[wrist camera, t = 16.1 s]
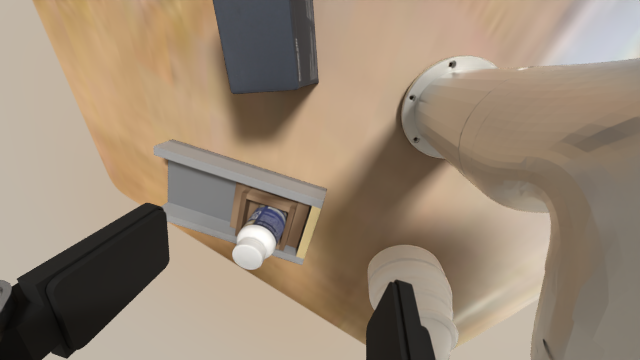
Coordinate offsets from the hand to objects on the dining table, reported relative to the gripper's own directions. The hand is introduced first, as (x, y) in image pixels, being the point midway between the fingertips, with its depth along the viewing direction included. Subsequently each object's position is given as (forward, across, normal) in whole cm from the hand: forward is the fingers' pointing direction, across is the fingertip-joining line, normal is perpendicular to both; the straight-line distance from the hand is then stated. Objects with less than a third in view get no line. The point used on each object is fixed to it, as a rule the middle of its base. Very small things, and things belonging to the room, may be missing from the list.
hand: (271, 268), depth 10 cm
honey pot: (+28, -18, +22) cm, 40 cm away
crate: (+26, +7, +16) cm, 31 cm away
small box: (+27, +9, -10) cm, 31 cm away
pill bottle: (+24, +7, +16) cm, 30 cm away
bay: (+26, +13, +16) cm, 33 cm away
